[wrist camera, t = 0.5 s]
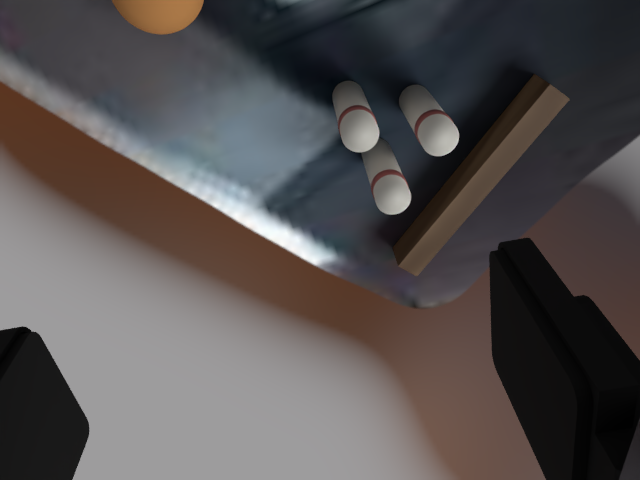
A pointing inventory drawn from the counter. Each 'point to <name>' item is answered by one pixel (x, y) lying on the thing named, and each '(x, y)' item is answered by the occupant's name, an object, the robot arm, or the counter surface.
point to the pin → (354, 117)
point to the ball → (159, 14)
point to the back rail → (479, 173)
